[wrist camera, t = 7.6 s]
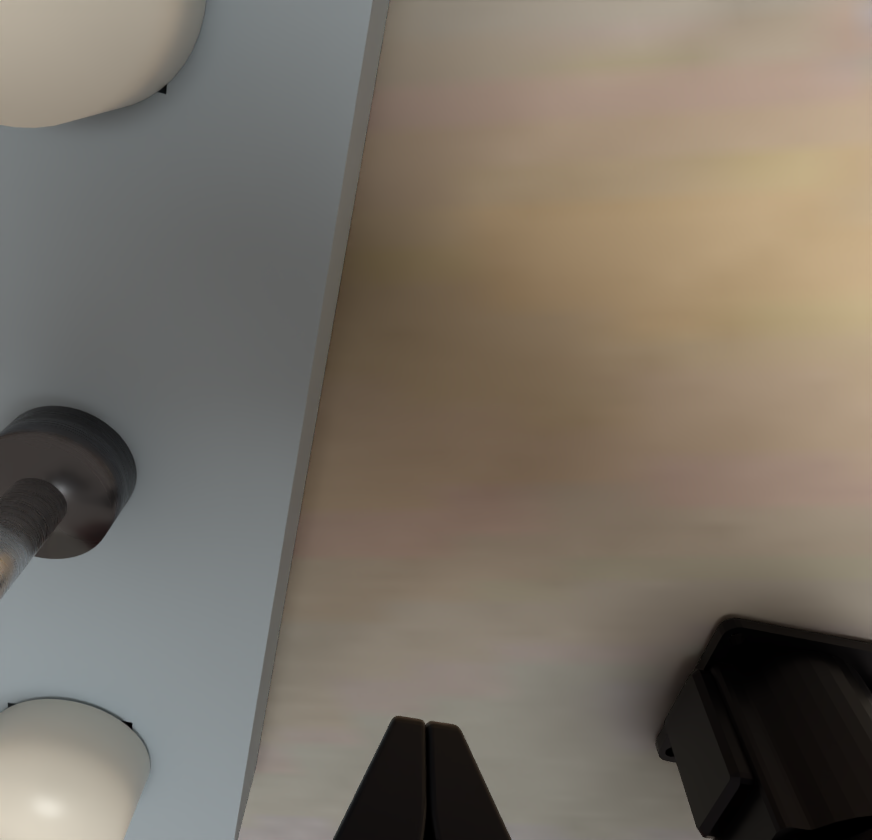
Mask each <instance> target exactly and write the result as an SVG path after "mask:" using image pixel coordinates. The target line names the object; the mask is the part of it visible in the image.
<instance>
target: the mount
mask: <svg viewBox="0 0 872 840" xmlns="http://www.w3.org/2000/svg"><path fill="white" fill-rule="evenodd" d="M389 1H390V0H206V5H205V12H204V17H203V21H202V25H201V29H200V33H199V35H198V38H197V40H196V43H195V45H194V47H193V50H192V52H191V53H190V55H189V57H188V59H187V60H186V62H185V64H184V65H183V67H182V68H181V69H180V70H179V71H178V73H177V74H176V75H175V76H174V78H173V79H172V80H171V81H170V82H168V83H167V84H166V85H165V86H164V87H163V88H162V89H161V90H159V91H158V92H156V93H155V94H153V95H151V96H150V97H148V98H147V99H144V100H142V101H140V102H138V103H135V104H133V105H130V106H126V107H123V108H119V109H115V110H111V111H108V112H104V113H100V114H96V115H93V116H89V117H85V118H81V119H78V120H74V121H70V122H67V123H63V124H59V125H55V126H48V127H39V128H21V127H10V126H4V125H0V432H1V431H2V430H3V429H4V428H5V427H6V426H7V425H9V424H10V423H11V422H12V421H13V420H14V419H15V418H16V417H18V416H19V415H20V414H22V413H24V412H26V411H28V410H31V409H33V408H37V407H42V406H65V407H71V408H75V409H79V410H81V411H84V412H87V413H89V414H91V415H93V416H95V417H97V418H99V419H100V420H102V421H104V422H105V423H106V424H108V425H109V426H110V427H111V428H113V429H114V430H115V431H116V432H117V433H118V434H119V435H120V436H121V438H122V439H123V440H124V441H125V443H126V444H127V446H128V447H129V449H130V451H131V453H132V455H133V458H134V461H135V464H136V470H137V480H136V486H135V489H134V492H133V494H132V496H131V498H130V499H129V501H128V502H127V504H126V505H125V507H124V508H123V510H122V511H121V513H120V514H119V516H118V517H117V519H116V520H115V522H114V523H113V525H112V526H111V528H110V529H109V531H108V532H107V534H106V535H105V537H104V538H103V539H102V541H101V542H100V543H99V544H98V545H97V546H96V547H94V548H93V549H91V550H90V551H88V552H86V553H84V554H82V555H79V556H76V557H71V558H66V559H46V558H39V557H33V558H32V560H31V561H30V562H29V564H28V565H27V566H26V568H25V569H24V570H23V571H22V573H21V574H20V575H19V577H18V578H17V579H16V581H15V582H14V583H13V584H12V586H11V587H10V588H9V590H8V591H7V592H6V594H5V595H4V596H3V597H2V599H1V600H0V713H1V712H2V711H4V710H5V709H7V708H9V707H11V706H13V705H16V704H18V703H22V702H25V701H31V700H38V699H60V700H68V701H74V702H78V703H82V704H86V705H89V706H92V707H95V708H97V709H100V710H102V711H104V712H106V713H108V714H110V715H112V716H114V717H115V718H117V719H119V720H120V721H125V722H131V723H133V725H132V729H131V730H133V731H134V732H135V733H136V735H137V736H138V737H139V738H140V739H141V741H142V742H143V744H144V746H145V747H146V749H147V752H148V754H149V759H150V772H149V776H148V779H147V781H146V784H145V786H144V789H143V791H142V794H141V796H140V799H139V802H138V804H137V807H136V809H135V812H134V814H133V817H132V819H131V822H130V824H129V827H128V829H127V832H126V835H125V837H124V840H237V839H238V836H239V832H240V828H241V824H242V820H243V816H244V812H245V808H246V804H247V800H248V796H249V792H250V788H251V784H252V780H253V777H254V773H255V769H256V763H257V757H258V751H259V746H260V740H261V734H262V729H263V723H264V717H265V711H266V706H267V700H268V694H269V688H270V683H271V677H272V671H273V666H274V660H275V654H276V648H277V643H278V637H279V631H280V625H281V620H282V614H283V608H284V603H285V597H286V591H287V585H288V580H289V574H290V568H291V562H292V557H293V551H294V545H295V540H296V534H297V528H298V522H299V517H300V511H301V505H302V499H303V494H304V488H305V482H306V477H307V471H308V465H309V459H310V454H311V448H312V442H313V436H314V431H315V425H316V419H317V414H318V408H319V402H320V396H321V391H322V385H323V379H324V373H325V368H326V362H327V356H328V351H329V345H330V339H331V333H332V328H333V322H334V316H335V310H336V305H337V299H338V293H339V288H340V282H341V276H342V270H343V265H344V259H345V253H346V247H347V242H348V236H349V230H350V224H351V219H352V213H353V207H354V202H355V196H356V190H357V184H358V179H359V173H360V167H361V161H362V156H363V150H364V144H365V139H366V133H367V127H368V121H369V116H370V110H371V104H372V98H373V93H374V87H375V81H376V76H377V70H378V64H379V58H380V53H381V47H382V41H383V35H384V30H385V24H386V18H387V13H388V7H389Z"/></svg>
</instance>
